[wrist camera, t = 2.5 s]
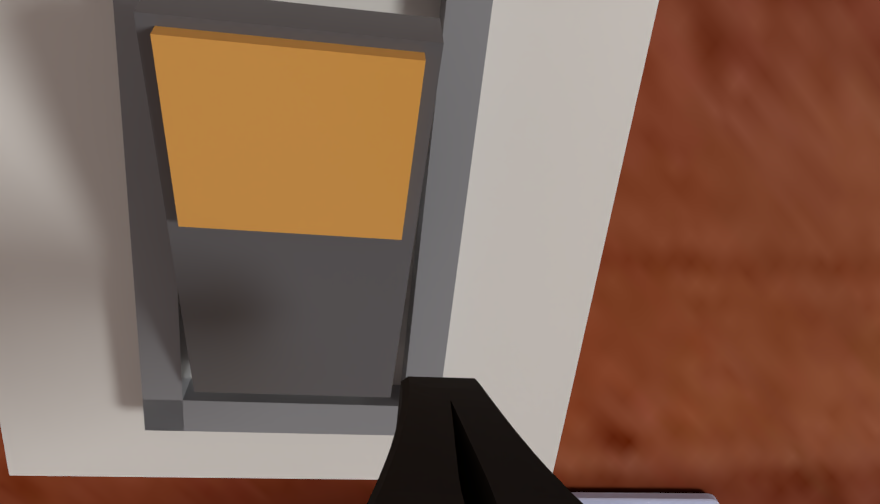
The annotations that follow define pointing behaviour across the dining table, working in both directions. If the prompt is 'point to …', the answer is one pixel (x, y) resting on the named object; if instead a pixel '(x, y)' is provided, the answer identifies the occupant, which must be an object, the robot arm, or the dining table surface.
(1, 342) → the rocker switch base
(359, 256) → the breaker rocker
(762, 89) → the dining table surface
